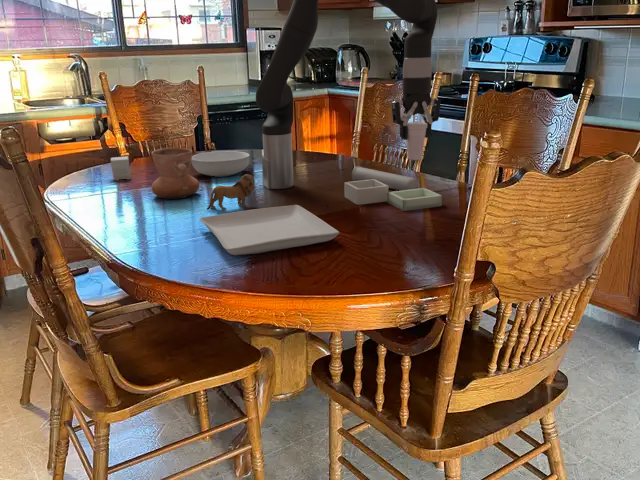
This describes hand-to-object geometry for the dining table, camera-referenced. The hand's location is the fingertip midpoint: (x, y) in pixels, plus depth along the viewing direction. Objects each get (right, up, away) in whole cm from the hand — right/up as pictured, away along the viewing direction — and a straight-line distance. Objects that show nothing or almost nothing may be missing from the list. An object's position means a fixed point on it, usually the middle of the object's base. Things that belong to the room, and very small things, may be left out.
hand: (415, 138), depth 162 cm
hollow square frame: (-13, -16, +13) cm, 24 cm away
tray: (+1, -18, +6) cm, 19 cm away
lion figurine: (-51, -19, +8) cm, 55 cm away
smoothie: (0, -6, +2) cm, 6 cm away
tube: (-5, -11, +27) cm, 30 cm away
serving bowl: (-62, -4, +51) cm, 80 cm away
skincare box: (-97, -6, +49) cm, 108 cm away
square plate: (-39, -28, -18) cm, 51 cm away
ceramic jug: (-71, -14, +23) cm, 76 cm away
